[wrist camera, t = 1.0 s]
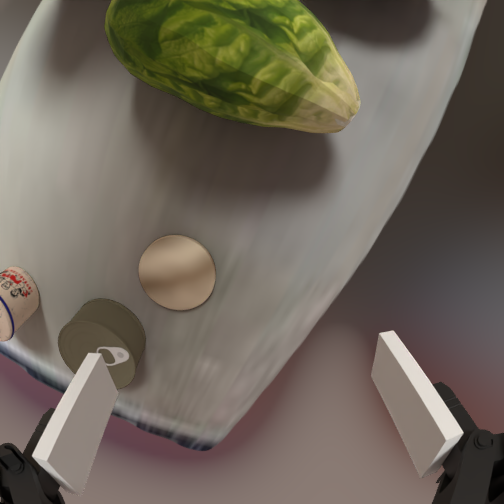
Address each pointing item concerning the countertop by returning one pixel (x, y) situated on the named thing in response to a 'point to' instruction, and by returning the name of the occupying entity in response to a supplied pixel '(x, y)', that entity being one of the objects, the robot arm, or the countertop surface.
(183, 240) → the beech coaster
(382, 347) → the robot arm
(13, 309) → the teacup with lid
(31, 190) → the countertop surface
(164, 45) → the lettuce
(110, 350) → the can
